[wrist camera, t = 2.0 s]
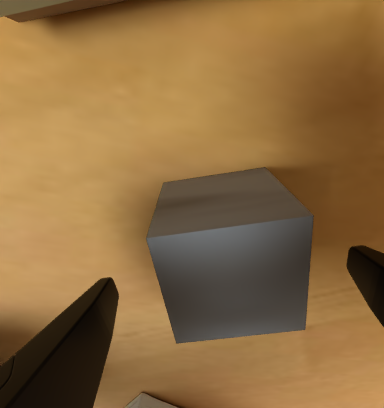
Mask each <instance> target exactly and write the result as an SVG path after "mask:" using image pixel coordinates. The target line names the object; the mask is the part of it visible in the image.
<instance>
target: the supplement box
mask: <svg viewBox="0 0 384 408" xmlns="http://www.w3.org/2000/svg"><path fill="white" fill-rule="evenodd" d="M125 408H178V407H175V406H173V405H170V404H168V403H165V402H163V401H160V400H158V399H155V398H153V397H151V396H149V395H147V394H145V393H141V394H140V395H139V396H137V397H136V398H135V399H134V400H133V401H132V402H130V403H129V404H128V405H127V406H126V407H125Z"/></svg>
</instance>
